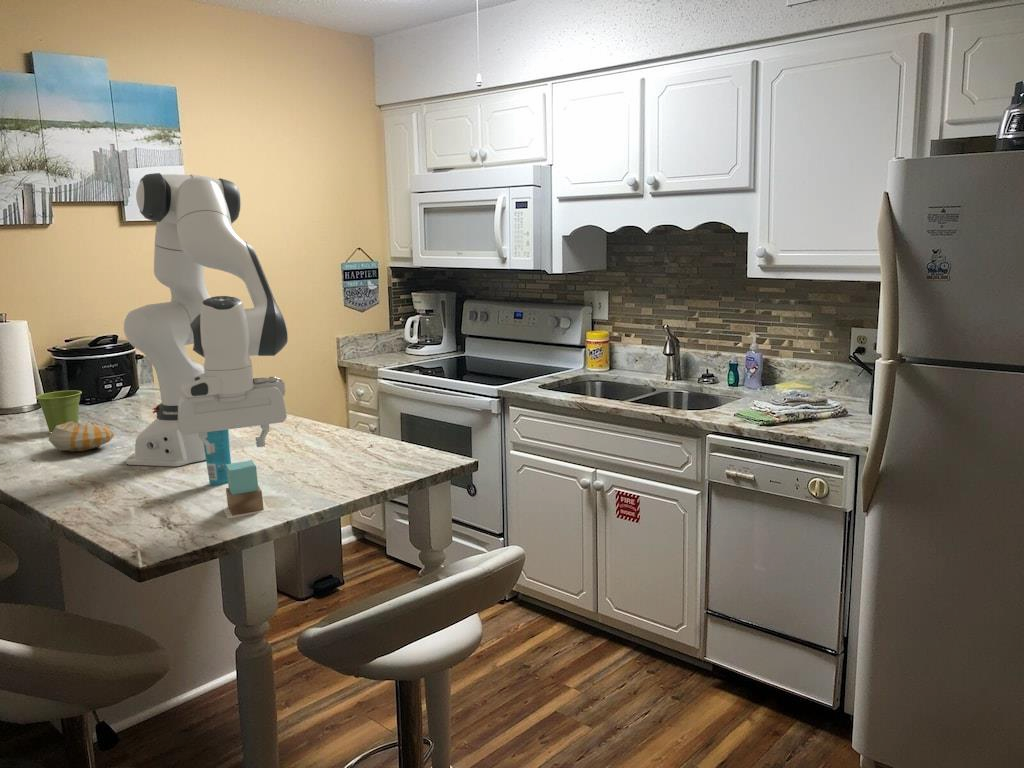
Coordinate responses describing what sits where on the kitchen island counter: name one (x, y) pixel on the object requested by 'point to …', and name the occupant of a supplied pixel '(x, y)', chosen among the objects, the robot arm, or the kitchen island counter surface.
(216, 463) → the tube
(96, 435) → the nautilus
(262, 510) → the slate mat
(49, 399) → the plant pot
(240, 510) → the walnut block
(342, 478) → the kitchen island counter surface
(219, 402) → the robot arm
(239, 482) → the teal cube
